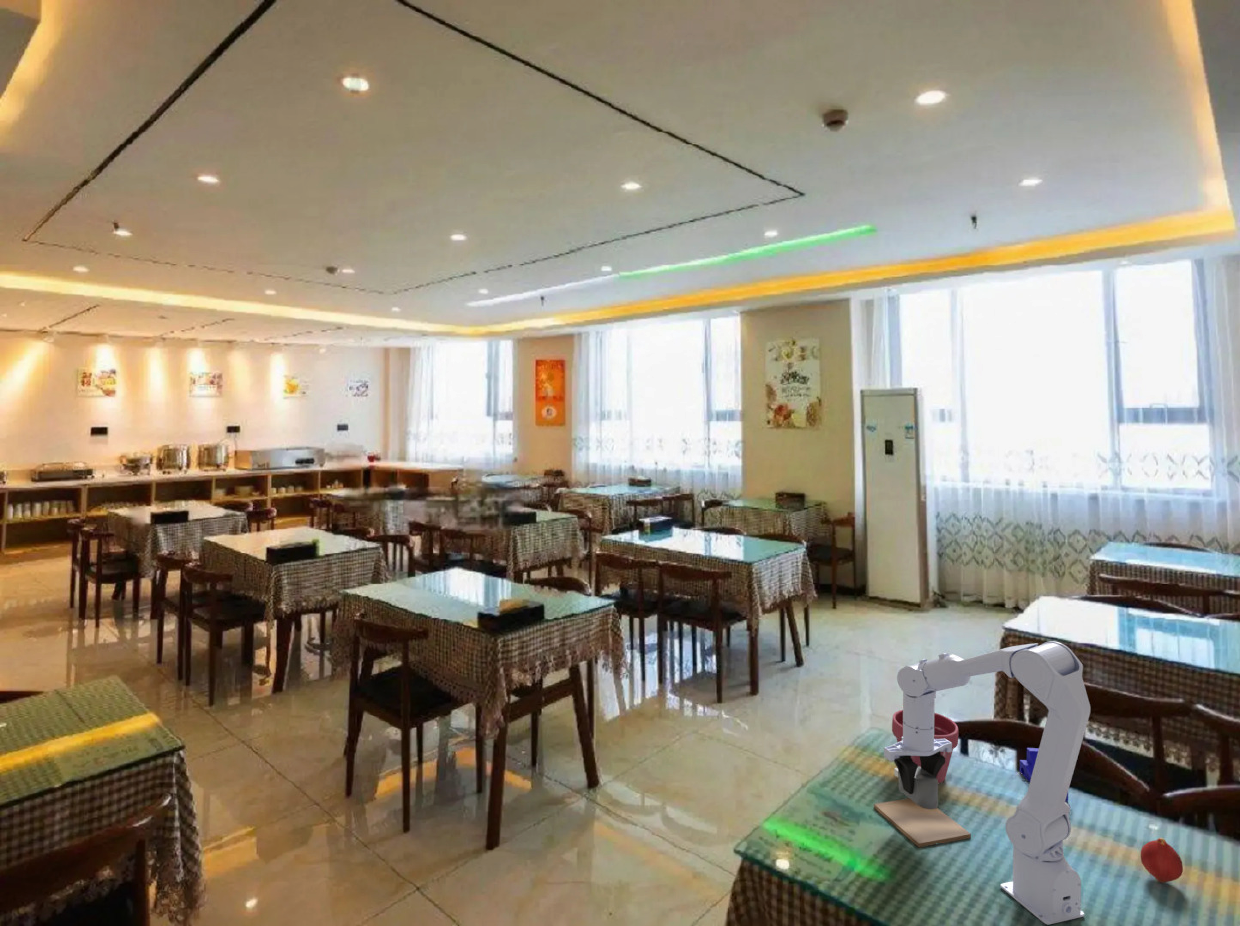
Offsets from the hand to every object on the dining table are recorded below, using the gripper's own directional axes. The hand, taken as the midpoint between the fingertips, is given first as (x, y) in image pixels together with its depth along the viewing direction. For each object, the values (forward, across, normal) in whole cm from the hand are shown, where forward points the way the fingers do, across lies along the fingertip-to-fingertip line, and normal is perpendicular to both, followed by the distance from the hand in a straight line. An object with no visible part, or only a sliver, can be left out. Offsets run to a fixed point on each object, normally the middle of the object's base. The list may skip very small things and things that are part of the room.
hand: (917, 789), depth 130 cm
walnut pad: (+8, -3, -2) cm, 9 cm away
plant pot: (+9, -17, -18) cm, 26 cm away
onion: (+9, -31, +24) cm, 40 cm away
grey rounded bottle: (+1, 0, 0) cm, 1 cm away
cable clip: (+9, -39, -7) cm, 41 cm away
